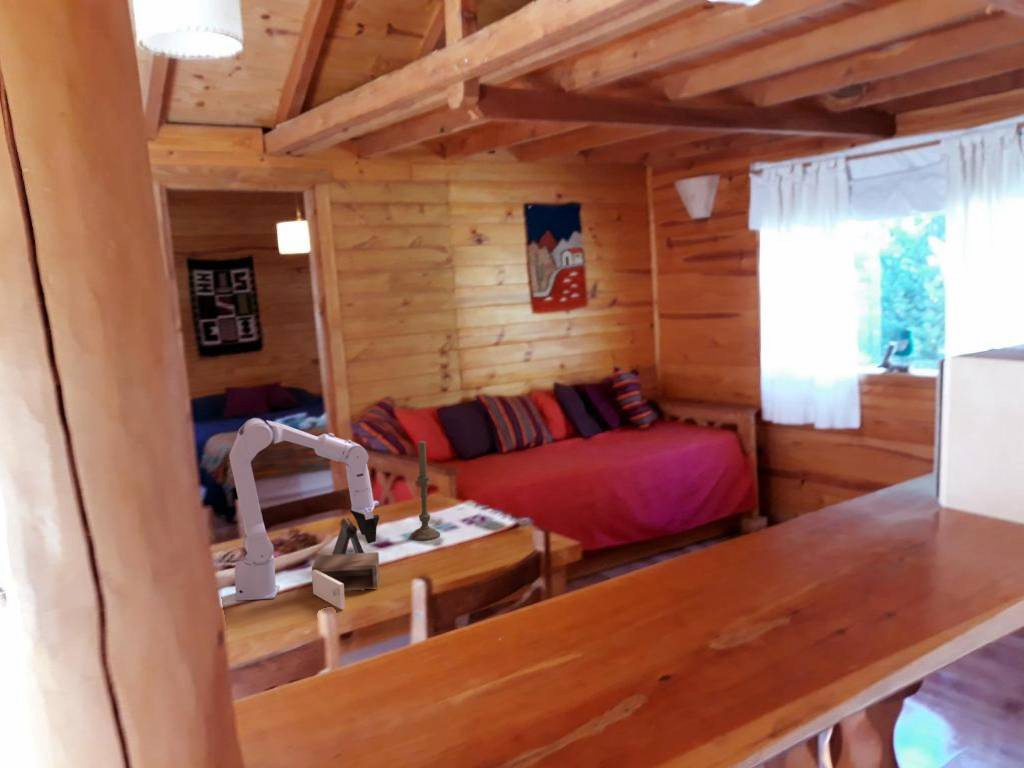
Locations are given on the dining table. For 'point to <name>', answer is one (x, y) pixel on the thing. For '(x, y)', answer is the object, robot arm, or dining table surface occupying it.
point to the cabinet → (350, 569)
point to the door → (328, 589)
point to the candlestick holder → (424, 500)
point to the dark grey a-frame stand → (347, 538)
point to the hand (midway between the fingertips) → (368, 538)
